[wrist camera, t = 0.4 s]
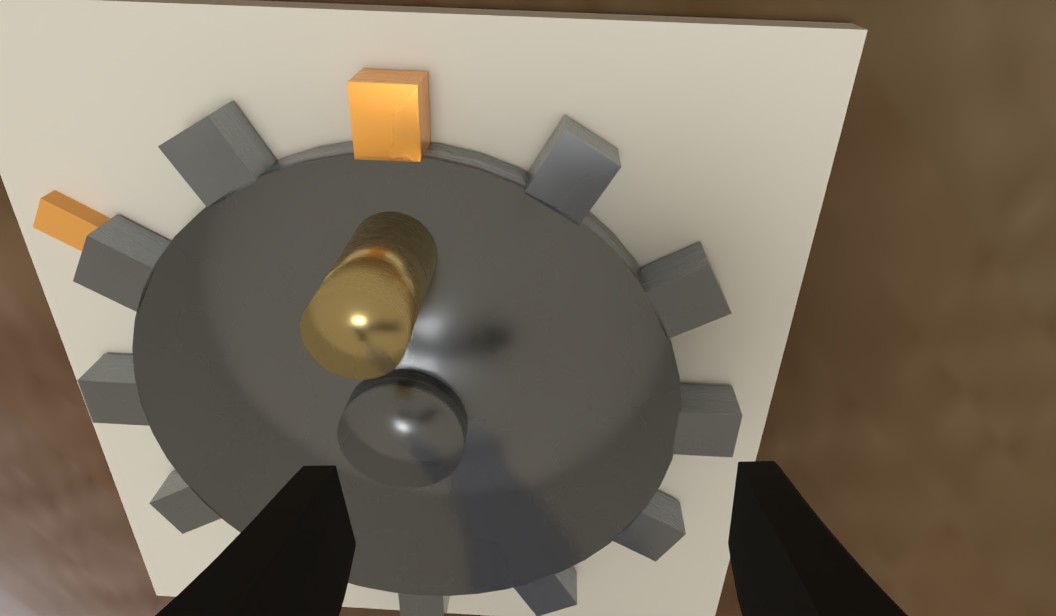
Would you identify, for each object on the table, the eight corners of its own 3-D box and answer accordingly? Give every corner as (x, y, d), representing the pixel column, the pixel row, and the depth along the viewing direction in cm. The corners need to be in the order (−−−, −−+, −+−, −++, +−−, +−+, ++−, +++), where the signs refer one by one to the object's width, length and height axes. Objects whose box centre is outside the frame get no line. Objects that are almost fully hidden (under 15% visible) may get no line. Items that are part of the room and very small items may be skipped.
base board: (707, 606, 28) (714, 643, 27) (168, 574, 29) (148, 608, 27) (852, 23, 17) (877, 34, 16) (-36, -11, 17) (-87, -3, 16)
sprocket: (683, 607, 27) (707, 758, 22) (180, 577, 27) (100, 719, 22) (799, 86, 17) (889, 159, 12) (2, 53, 17) (-207, 112, 12)
